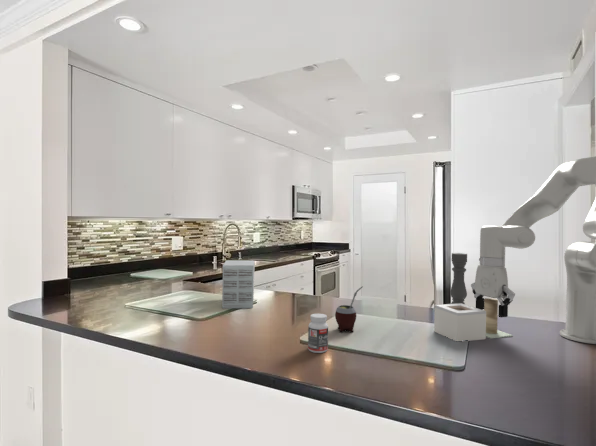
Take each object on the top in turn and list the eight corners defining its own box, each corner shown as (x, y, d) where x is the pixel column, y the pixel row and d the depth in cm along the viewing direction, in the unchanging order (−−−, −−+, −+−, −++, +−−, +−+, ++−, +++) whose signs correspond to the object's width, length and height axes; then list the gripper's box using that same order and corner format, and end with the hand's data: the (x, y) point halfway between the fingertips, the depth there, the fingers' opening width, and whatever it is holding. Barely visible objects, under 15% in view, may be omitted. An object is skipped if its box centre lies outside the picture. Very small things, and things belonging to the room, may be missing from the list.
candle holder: (468, 319, 140) (469, 254, 139) (451, 318, 141) (452, 253, 141) (464, 315, 146) (465, 253, 146) (448, 314, 147) (449, 252, 147)
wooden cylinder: (490, 329, 126) (491, 298, 125) (500, 333, 122) (500, 300, 122) (481, 330, 124) (481, 298, 124) (490, 334, 121) (491, 301, 120)
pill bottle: (321, 355, 101) (322, 319, 101) (304, 350, 104) (304, 316, 104) (331, 349, 106) (331, 314, 106) (314, 345, 109) (314, 311, 109)
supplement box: (224, 299, 168) (225, 260, 167) (254, 299, 169) (254, 260, 169) (221, 308, 150) (221, 264, 150) (253, 308, 152) (254, 265, 152)
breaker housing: (460, 329, 127) (461, 303, 127) (485, 339, 117) (486, 311, 117) (434, 331, 124) (434, 305, 124) (457, 342, 114) (457, 313, 114)
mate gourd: (330, 330, 123) (331, 286, 123) (344, 325, 129) (345, 283, 129) (349, 335, 118) (350, 289, 118) (362, 330, 124) (363, 286, 124)
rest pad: (490, 328, 129) (490, 327, 129) (512, 336, 120) (512, 335, 120) (469, 330, 126) (469, 329, 126) (490, 338, 117) (490, 337, 117)
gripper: (464, 259, 130) (463, 307, 130) (504, 266, 113) (503, 320, 114) (481, 259, 132) (480, 306, 132) (523, 265, 116) (522, 319, 116)
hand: (491, 313), depth 123 cm, fingers open, 9 cm apart
